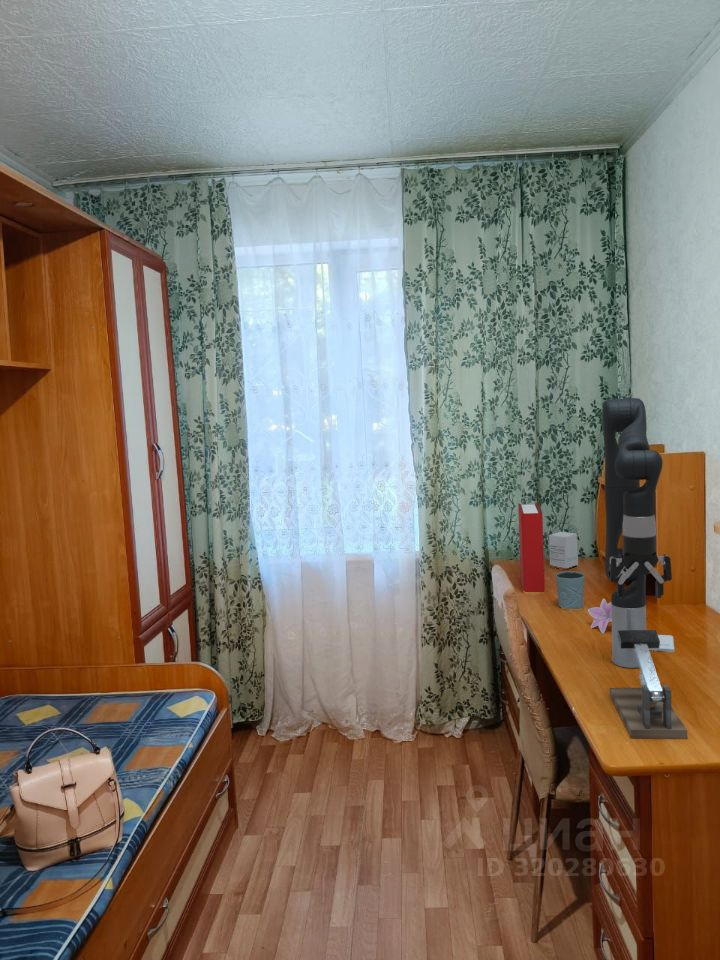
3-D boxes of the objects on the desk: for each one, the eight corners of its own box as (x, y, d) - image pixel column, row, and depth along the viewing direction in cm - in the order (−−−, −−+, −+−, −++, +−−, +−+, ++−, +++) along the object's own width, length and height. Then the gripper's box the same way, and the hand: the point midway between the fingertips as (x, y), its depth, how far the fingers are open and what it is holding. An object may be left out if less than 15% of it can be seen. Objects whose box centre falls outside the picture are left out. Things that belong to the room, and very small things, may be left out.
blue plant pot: (582, 602, 272) (581, 570, 271) (588, 610, 262) (587, 577, 261) (554, 603, 273) (553, 571, 272) (558, 611, 263) (558, 578, 262)
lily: (588, 625, 250) (578, 604, 246) (620, 611, 248) (611, 589, 244) (600, 646, 239) (590, 625, 235) (634, 632, 237) (625, 610, 234)
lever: (616, 641, 185) (618, 630, 183) (654, 641, 184) (655, 629, 182) (635, 708, 168) (637, 696, 166) (677, 708, 166) (679, 696, 164)
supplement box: (561, 563, 333) (560, 531, 332) (578, 566, 326) (577, 533, 325) (549, 567, 327) (548, 534, 326) (566, 570, 321) (565, 536, 319)
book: (520, 577, 314) (518, 502, 310) (539, 576, 312) (537, 502, 309) (523, 594, 287) (521, 513, 284) (545, 594, 286) (542, 512, 282)
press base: (609, 695, 190) (608, 653, 189) (658, 695, 188) (657, 653, 187) (631, 738, 166) (630, 691, 165) (687, 738, 165) (686, 691, 164)
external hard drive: (673, 640, 229) (674, 654, 217) (644, 638, 232) (644, 652, 220) (673, 635, 229) (674, 648, 217) (644, 633, 232) (644, 646, 220)
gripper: (665, 528, 181) (665, 592, 183) (605, 530, 182) (606, 594, 185) (674, 535, 173) (675, 601, 175) (611, 537, 175) (613, 603, 177)
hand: (639, 597), depth 180 cm, fingers open, 8 cm apart
